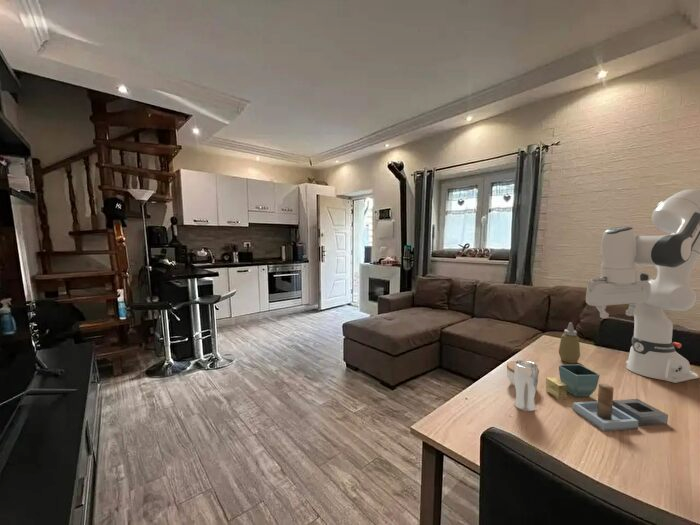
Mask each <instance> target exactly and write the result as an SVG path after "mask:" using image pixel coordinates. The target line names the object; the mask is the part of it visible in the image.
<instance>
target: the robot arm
mask: <svg viewBox="0 0 700 525" xmlns="http://www.w3.org/2000/svg"><path fill="white" fill-rule="evenodd" d="M651 222H652V224H653V225H654V227H656V228H657V229H659V230H660V231H661V232H664V233H668V234H666V235H665V234H664V235H639V234H636V232H635V228H634V227H631V226H617V227H611V228H608V229H606V230H604V231H603V233H602V237H601V243H600V257H601V264H600V277H598V278H597V277H593V278H592V279H591V280H589V281H588V282H587V287H586V293H585V303H586V304H587V305H588V306H592V307H596V309H597V310H598V312H599V317H600V319H609V318H610V316H609V315H610V314H609V312H607V311H606V309H607V306H615V305H625V304H626V305H627V304H628V305H629V306H628V309H625V315H626V316H629V317H634V319H633V321H634V326H633V327H634V328H633V335H632V337H631V346H630V349H629V354H628V360H626V361H625V364H626V369H628V370H629V371H630V372H632V373H635V374H637V375H639V376H643V377H647V378H650V379H655V380H656V379H657V380H660V381H661V380H662V381H666V382H669V383H673V384H676V383H681V382H686V381H690V380H695V379H699V375H698V373H696V372H694V371H692V370H691V365H690V361H689V360H688V359H687V358H685V357H684V356H683V355H681V354H679V353H678V352H677V351H676V349H680V348H682V343H680V342H676V341H673V340H672V339H673V329H674V328H673V327H674V325H673V321H671V319H670V318H669V317H667V315H666V313H665V311H674V312H675V311H677V312H683V311H684V312H685V311H687V310H690V309H692V308H693V307H694V306H695V304H696V302H697V295H696V292H695V291H694V289H692V286H691V284H690V283H691V281H690V280H691V279H690V278H691V274H692V271H693V269H694V268H695V265H696V263H697V262H698V260H699V258H700V189H695V188H688V189H687V188H686V189H684V190H681V191H678V192H676V193H675V194H672V195H671V196H670V197H668V198H666V199H663V200H661V201H660V202H659V201H658V203H657V204H656V206H655V207H654V210H653V211H652V214H651ZM637 265H643V266H644V265H645V266H653V267H654V268H655V269H656V270H657V274H656V278H655V279H654V278H652V276H651V274H649V273H645V272H641V271H638V270H637ZM664 310H665V311H664Z"/></svg>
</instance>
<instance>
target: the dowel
mask: <svg viewBox="0 0 700 525" xmlns="http://www.w3.org/2000/svg"><path fill="white" fill-rule="evenodd" d="M597 392H598V394H597V401H598V406H597V416H598V417H600V418H602V419H605V420H611V419H612V404H613V400H614V387H613V386H612V385H610V384H608V383H607V384H606V383H598V391H597Z"/></svg>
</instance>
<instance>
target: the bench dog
mask: <svg viewBox="0 0 700 525" xmlns="http://www.w3.org/2000/svg"><path fill="white" fill-rule="evenodd" d="M545 391H546V392H547V393H549V394H550V395H552V397H554V398H556V399H557V400H563V399H567V385H566V384H564V383H563V382H561V380H560V379H557V378H556V377H553V376H551V377H550V376H549V377H546V378H545Z"/></svg>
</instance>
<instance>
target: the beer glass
mask: <svg viewBox="0 0 700 525" xmlns="http://www.w3.org/2000/svg"><path fill="white" fill-rule="evenodd" d="M538 369H539V366H538V364H537V363H536V362H532V361H530V360H525V359H517V360H516V362H515V369H514V382H515V387H514V388H515V398H514V399H515V400H514V406H515V407H516V408H517V409H519V410H521V411H523V412H528V413H529V412H534V411H535V410H536V406H535V395H536V391H537V388H538V387H537V386H538V382H539V374H538Z"/></svg>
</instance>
